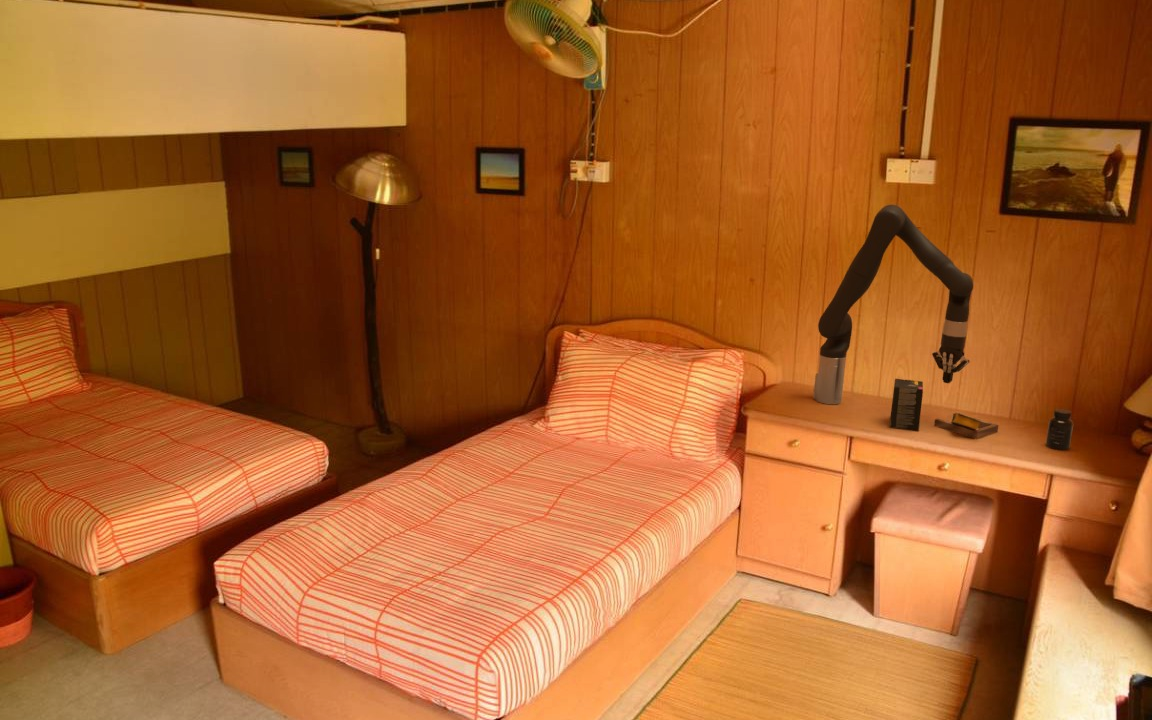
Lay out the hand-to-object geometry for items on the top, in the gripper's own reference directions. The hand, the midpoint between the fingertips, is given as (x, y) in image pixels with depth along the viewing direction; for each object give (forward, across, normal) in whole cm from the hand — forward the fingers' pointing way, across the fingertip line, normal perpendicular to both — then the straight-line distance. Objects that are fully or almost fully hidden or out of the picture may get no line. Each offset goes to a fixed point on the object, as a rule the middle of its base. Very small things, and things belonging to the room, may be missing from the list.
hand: (946, 382), depth 311 cm
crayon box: (+12, +8, -1) cm, 15 cm away
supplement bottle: (+14, +36, +8) cm, 39 cm away
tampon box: (+14, -5, -14) cm, 21 cm away
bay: (+14, +8, 0) cm, 16 cm away
